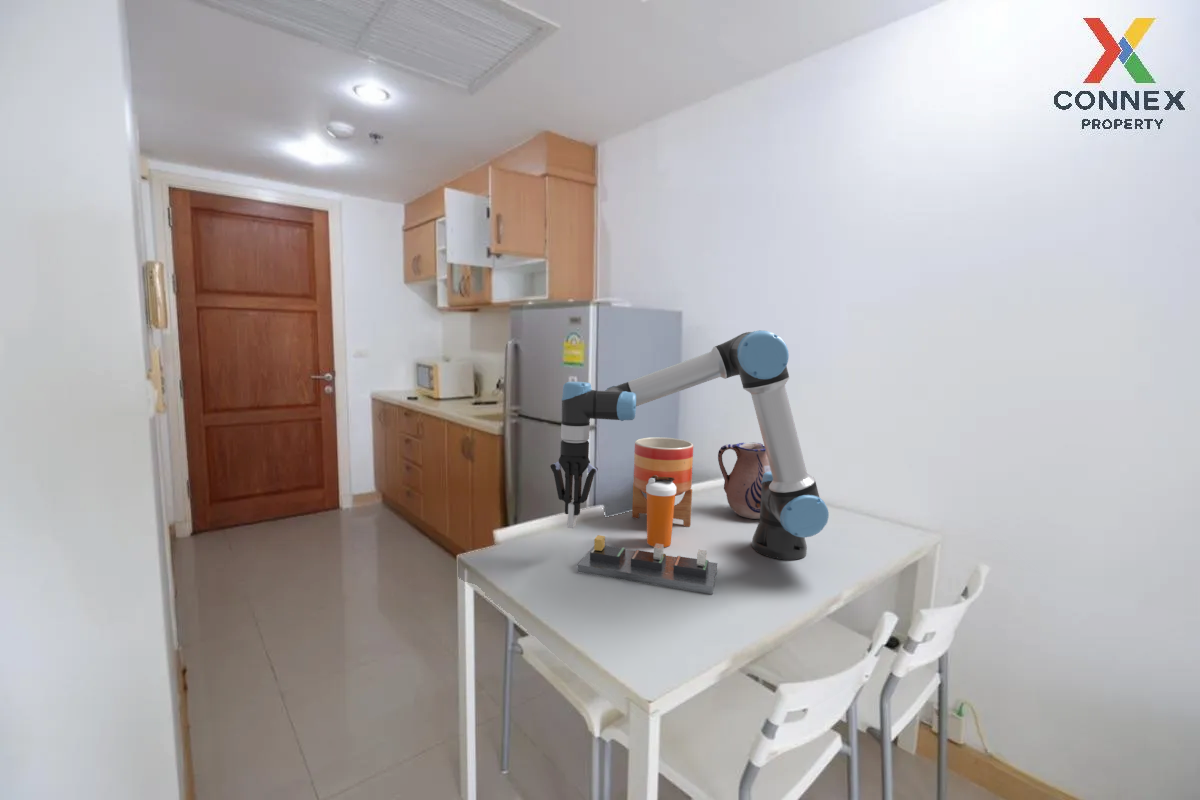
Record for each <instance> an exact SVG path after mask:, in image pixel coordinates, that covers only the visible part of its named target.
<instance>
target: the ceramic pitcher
mask: <svg viewBox="0 0 1200 800" xmlns="http://www.w3.org/2000/svg"><path fill="white" fill-rule="evenodd" d="M728 450H733V452H735V454H736V457H737V458H736V461H735V463H734V466H733V468H732V471H731V472H730V473H729V474H728V471H727V470H726V467H725V465H724V462H723V461H724V460H723V454H724V453H725V452H726V451H728ZM717 461H718V467H719V468H720V469H719V470H720V471H721V474H722V477H723V479H724V481H723V482H724V483H723V484H724V485H723V490H724V493H726V500H727V503H728V505H729V507H730V508H731V509H732V511H733V512H734V513H735V514H737V515H738V516H739V517H741V518H747V519H752V520H760V508H761V491H762V484H761V482H762V479H763V474H764V473H766V472H770V471H771V469H770V465H769V462H768V458H767V454H766V450H765V446H764V443H763V444H762V443H761V442H738V443H734V444H732V443H730V444H729V443H727V444H726V443H725V444H724V445H722V446H721V447H720V449H719V450H718V452H717Z"/></svg>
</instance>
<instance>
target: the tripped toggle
mask: <svg viewBox="0 0 1200 800" xmlns="http://www.w3.org/2000/svg"><path fill="white" fill-rule="evenodd" d="M593 540H594V541H593V546H594V550H598V551H602V550H603V548H604V547H605V544H606V536H605V535H600V534H597V535H596V537H595V538H594V539H593Z"/></svg>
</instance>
